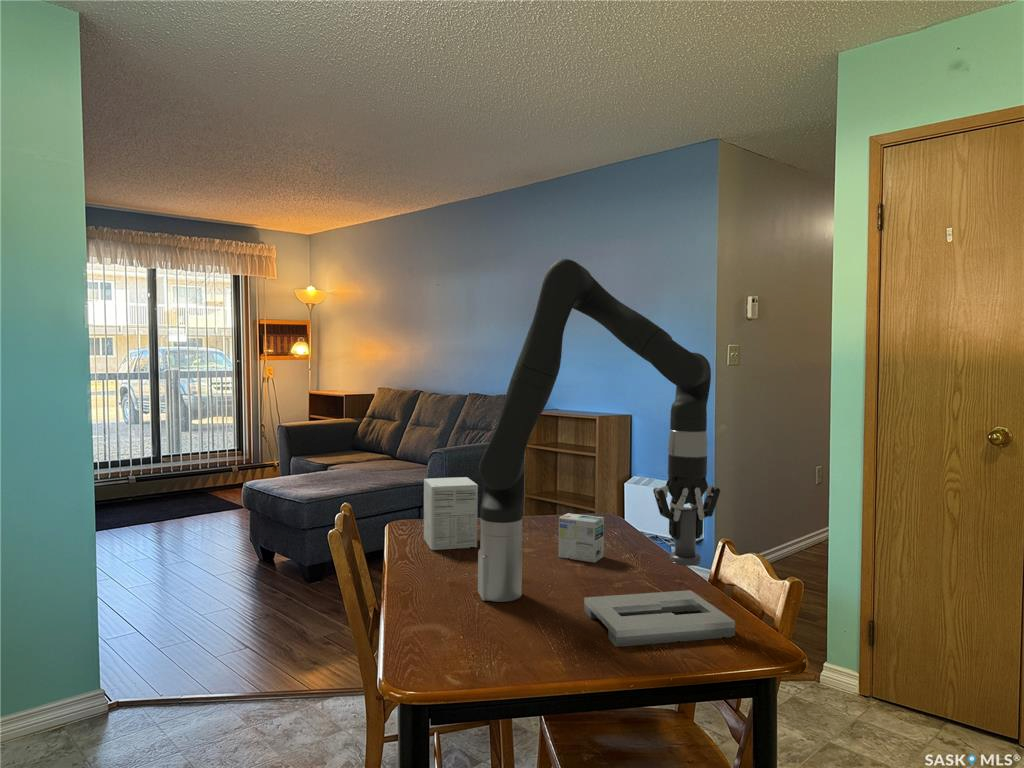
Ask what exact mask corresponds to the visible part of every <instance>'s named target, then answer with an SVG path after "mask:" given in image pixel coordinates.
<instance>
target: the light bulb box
mask: <svg viewBox="0 0 1024 768" xmlns="http://www.w3.org/2000/svg"><path fill="white" fill-rule="evenodd" d="M604 534H605V517H603V516H595V515H587V514H576V513H570V512H568V513H565V514H563V515H561V516H559V517H558V537H557V538H558V542H557V544H558V545H557V547H558V549H557V551H558V552H557V553H558V555H557V557H558V558H562V559H568V558H569V560H575V561H581V562H589V563H594V564H595V563H596V562H598V561H600V560H601V559H602V558H604V557H605V545H604V544H605V535H604Z"/></svg>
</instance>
